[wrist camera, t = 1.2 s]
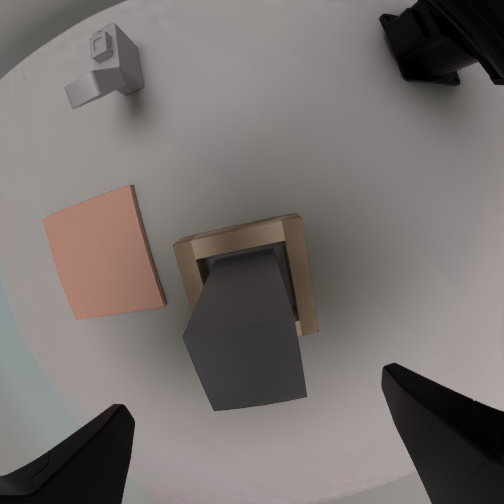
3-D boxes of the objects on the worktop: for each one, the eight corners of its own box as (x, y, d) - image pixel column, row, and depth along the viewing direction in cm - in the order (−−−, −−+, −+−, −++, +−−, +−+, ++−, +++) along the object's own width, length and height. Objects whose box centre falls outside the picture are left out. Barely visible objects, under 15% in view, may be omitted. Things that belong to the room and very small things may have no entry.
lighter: (117, 54, 15) (63, 11, 7) (137, 45, 15) (89, -5, 7) (130, 131, 17) (64, 108, 9) (152, 122, 17) (93, 91, 9)
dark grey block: (272, 248, 19) (294, 317, 9) (282, 300, 20) (307, 396, 10) (215, 259, 19) (182, 336, 9) (229, 311, 20) (214, 411, 10)
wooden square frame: (295, 213, 18) (301, 217, 16) (313, 318, 20) (318, 331, 18) (180, 238, 19) (172, 245, 17) (210, 338, 21) (206, 352, 19)
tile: (133, 185, 18) (129, 185, 17) (166, 303, 20) (164, 306, 19) (47, 218, 18) (42, 219, 18) (79, 316, 20) (75, 319, 20)
